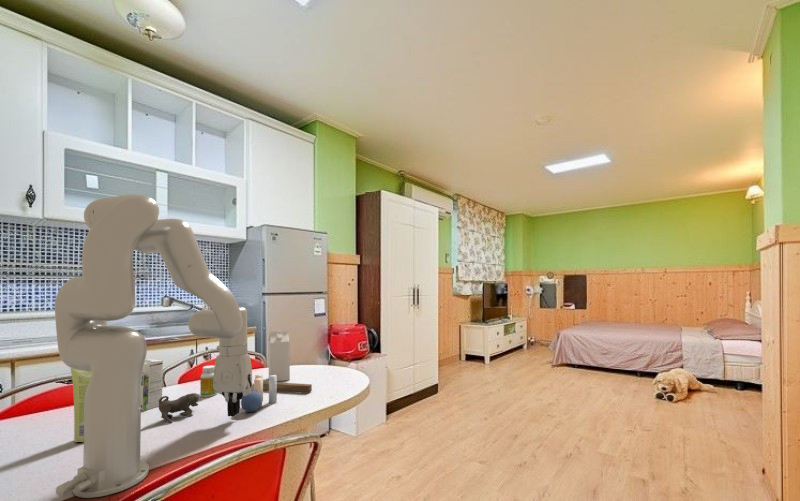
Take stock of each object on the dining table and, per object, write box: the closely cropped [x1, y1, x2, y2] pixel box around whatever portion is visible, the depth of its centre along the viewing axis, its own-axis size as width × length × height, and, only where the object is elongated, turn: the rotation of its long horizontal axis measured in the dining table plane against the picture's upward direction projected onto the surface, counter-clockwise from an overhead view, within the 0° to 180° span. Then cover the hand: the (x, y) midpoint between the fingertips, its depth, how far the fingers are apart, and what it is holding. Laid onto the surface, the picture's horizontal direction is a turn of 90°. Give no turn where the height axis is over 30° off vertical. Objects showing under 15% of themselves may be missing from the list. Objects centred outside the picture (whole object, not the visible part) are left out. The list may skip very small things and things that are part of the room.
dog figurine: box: [158, 392, 201, 424], centre depth 116 cm, size 12×6×7 cm, turn 143°
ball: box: [240, 390, 263, 413], centre depth 119 cm, size 6×6×6 cm
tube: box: [70, 368, 92, 443], centre depth 102 cm, size 6×5×20 cm
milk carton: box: [268, 329, 291, 382], centre depth 154 cm, size 7×7×19 cm
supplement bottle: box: [199, 364, 218, 398], centre depth 136 cm, size 5×5×10 cm
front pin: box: [253, 378, 263, 408], centre depth 123 cm, size 2×2×8 cm
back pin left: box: [254, 373, 264, 403], centre depth 128 cm, size 2×2×8 cm
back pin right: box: [268, 375, 278, 405], centre depth 127 cm, size 2×2×8 cm
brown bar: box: [263, 381, 313, 394], centre depth 139 cm, size 2×20×2 cm, turn 76°
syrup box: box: [141, 358, 164, 411], centre depth 125 cm, size 6×6×14 cm
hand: (233, 414), depth 112 cm, fingers closed
